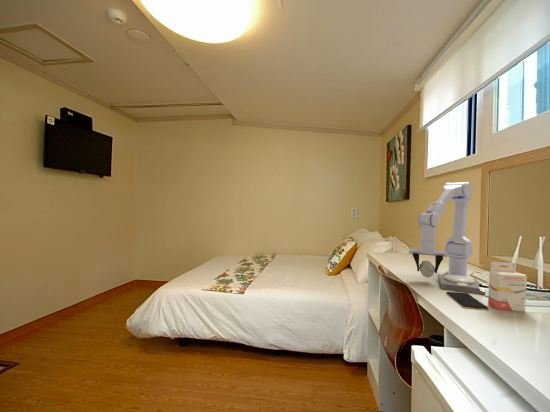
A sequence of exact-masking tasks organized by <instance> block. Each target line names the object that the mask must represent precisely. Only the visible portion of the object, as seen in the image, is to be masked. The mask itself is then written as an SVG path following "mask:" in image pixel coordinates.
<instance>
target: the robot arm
mask: <svg viewBox="0 0 550 412" xmlns="http://www.w3.org/2000/svg"><path fill="white" fill-rule="evenodd" d="M472 196H473V186H472V185H471V183H470V182H469V181H466V182H464V181H463V182H446V183H445V184H444V186H443V187H442V193H441V195H440V197H439V198H438V200H435V201H432V202H431V204H430V206H429V207H428V208H427V209H426V210H425V211H424V212H421V213H420V214H419V215H418V217H417V223H418V225H419V226H418V228H419V230H420V237H419V239H420V240H419V244H420V245H419V248H409V249H408V254H409V255H412V257H413V259H414V262H415V265H416V271H417V272H420V269H419V267H420V255H423V256H434V258H435V259H434V261H435V265H434V268H435V272H434V274H438V270H439V267H440V265H441V263H442V262H443V260H444V258H448V270H446V275H460V276H465V277H469V276H468V259H469V258H471V256H472V254H473V250H474V249H473V245H472V244H473V242H472V241H471V240H470V239H469V238H468V237H466V232H467V222H468V211H469V209H468V208H469V202H470V201H472ZM450 201H453V202H454V203H455V205H454V216H453V225H452V235H451V236H450V237H448V238H447V239H446V242H445V245H444V251H442V250H436V235H437V233H436V230H437V226H439V223H440V220H441V216H442V215H443V213H444V212H445V211H446V210H447V209H446V208H447V207H446V205H448V203H449V202H450Z"/></svg>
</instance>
